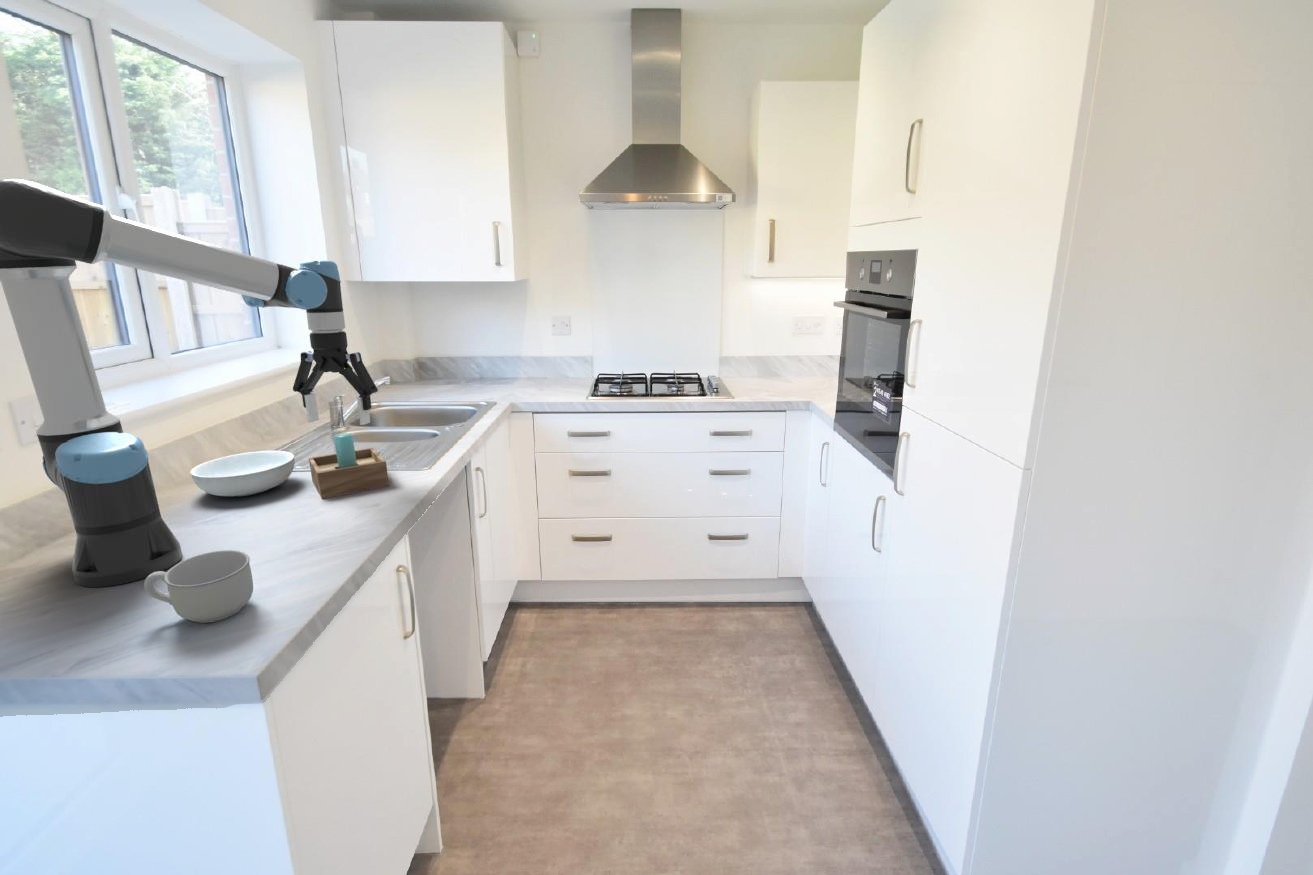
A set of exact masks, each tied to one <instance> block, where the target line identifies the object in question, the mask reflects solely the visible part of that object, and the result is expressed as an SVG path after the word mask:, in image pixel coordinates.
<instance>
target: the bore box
mask: <svg viewBox="0 0 1313 875" xmlns="http://www.w3.org/2000/svg"><path fill="white" fill-rule="evenodd" d="M355 455H356V462H357V466H352V467H346V468H340V469H339V467H338V460H337V454H336V453H332V454H325V455H319V456H312V457H308V464H309V468H310V473H311V474H310V475H311V481H312V483H313V486H314V487H315V488H316V491H317V493H318V494H319V497H320V498H321V499H327V498H332V497H338V496H341V495H346V494H347V495H348V494H352V493H358V492H363V491H364V492H365V491H368V490H374V489H377V488H384V487H388V486H389V487H390V482H389V476H388V467H387V466H388V465H387V460H385V459H384V458H383V456H381V454H380V453H378V452H377V451H376V449H375V448H373V447H368V448H363V449H356V450H355Z"/></svg>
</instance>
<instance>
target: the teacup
mask: <svg viewBox="0 0 1313 875" xmlns="http://www.w3.org/2000/svg"><path fill="white" fill-rule="evenodd" d="M250 561H251V560H250V556H249V555H248V554H247V553H246V552H243V551H240V550H233V549H225V550H224V549H223V550H222V549H221V550H214V551H209V552H204V553H201V554H197V555H194V556H191V557H188V558H187V559H184V560H182V561H180V562H177V563H176V564H174V565H173V566H171V567H170V569H167V571H165V570H164V571H158V572H154V573H152V574H150V575H149V576H148V577H146V578H145V580H144V583H143V587H144V591H145V592H146V593H147V594H148V595H149V596H150V597H152V598H154V599H156V600H159V601H161V602H165V603H168V604H170V605H171V606H172V607H173V610H174V611H175V613H176V614H177V615H178V616H179V617H180V618H182V619H184V620H188V621H191V622H195V623H202V624H203V623H204V624H205V623H206V624H207V623H213V622H217V621H221V620H225V619H227V618H229V616H230V617H231V616H233V615H236V613H238V612H239V611H241V610H242V608H244V606H245V605H246V604H247V603H248V602H249V601H250V599H251V598H252V596H253V593H254V582H253V580H254V579H253V573H252V569H251V568H252V567H251V565H250ZM155 580H161V581H163V582H164V583H165V584H166V587H167V590H168V591H167V592H168V593H167V592H164V591H162V590H160V589H158V588H157V587H156V586H155V584H154V581H155Z"/></svg>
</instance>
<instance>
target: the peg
mask: <svg viewBox="0 0 1313 875" xmlns="http://www.w3.org/2000/svg"><path fill="white" fill-rule="evenodd" d="M333 440H334V448H335V454H337V460H338V467H339V469H340V468H346V467H352V466H357V462H356V455H355V445H354V443H355V442H354V436H353V434H352V433H340V434H336V435H334V436H333Z"/></svg>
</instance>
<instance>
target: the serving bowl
mask: <svg viewBox="0 0 1313 875" xmlns="http://www.w3.org/2000/svg"><path fill="white" fill-rule="evenodd" d="M294 467H295V455H294V453H292V452H289V451H284V450H283V451H282V450H261V451H258V450H257V451H249V452H242V453H238V454H236V453H235V454H231V455H226V456H222V457H219V458H215V459H211V460H208V461H206V462H202V463H201V464H198V465H196V466H195V467H193V468H192V469H191V470H190V472H189V474H190V476H191V479H192V480H193V482H194V484H195V485H196V487H197V488H198V489H200V490H202V491H203V492H205V493H206V494H209V495H213V496H219V497H234V496H239V497H247V496H253V495H258V494H261V493H263V492H265V491H268V490H270V489H273V488H276V487H277V486H279V485H280V484H282V483H284V482H285V481H286V480H288V478H289V477H290V476H291V474H292V473H293V470H294Z"/></svg>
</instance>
